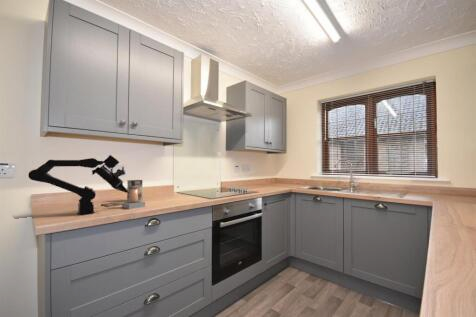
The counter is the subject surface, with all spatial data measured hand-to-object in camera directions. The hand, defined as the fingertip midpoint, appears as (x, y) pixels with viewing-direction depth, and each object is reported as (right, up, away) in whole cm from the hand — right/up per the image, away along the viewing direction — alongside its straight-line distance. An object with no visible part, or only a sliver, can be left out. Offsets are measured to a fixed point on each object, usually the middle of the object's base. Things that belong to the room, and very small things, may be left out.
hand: (126, 191), depth 139 cm
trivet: (-14, -12, +12) cm, 22 cm away
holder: (+4, -11, +2) cm, 12 cm away
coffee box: (-11, -13, +35) cm, 38 cm away
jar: (+4, -10, +2) cm, 11 cm away
